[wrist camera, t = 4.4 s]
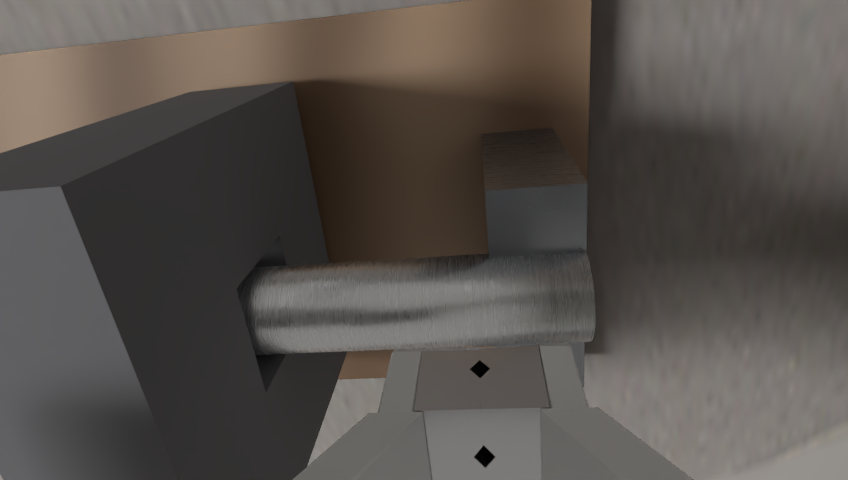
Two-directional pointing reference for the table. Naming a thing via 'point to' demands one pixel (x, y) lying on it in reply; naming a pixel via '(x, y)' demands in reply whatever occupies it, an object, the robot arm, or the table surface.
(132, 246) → the collar
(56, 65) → the board
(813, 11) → the table surface
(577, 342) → the linear slide rail
